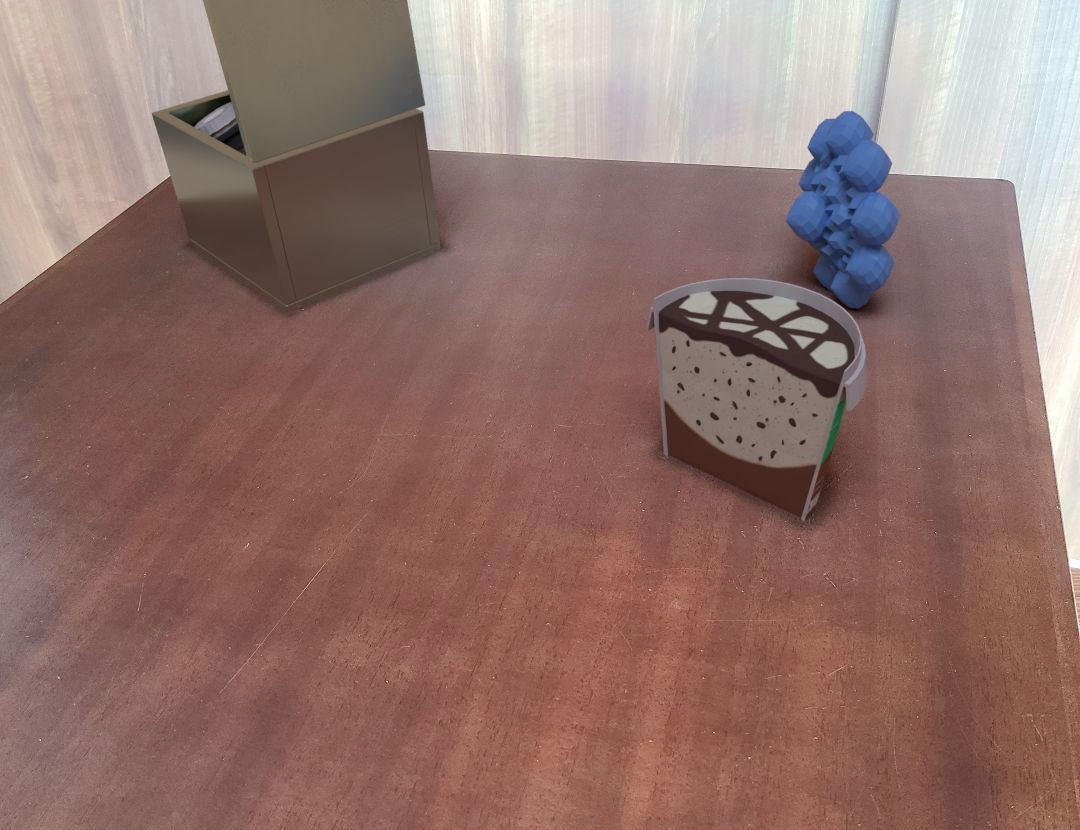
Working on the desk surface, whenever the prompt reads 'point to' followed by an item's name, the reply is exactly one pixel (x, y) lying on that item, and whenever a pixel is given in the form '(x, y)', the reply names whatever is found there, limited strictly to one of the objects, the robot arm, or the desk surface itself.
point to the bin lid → (313, 67)
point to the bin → (304, 203)
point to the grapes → (846, 209)
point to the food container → (756, 383)
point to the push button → (223, 127)
